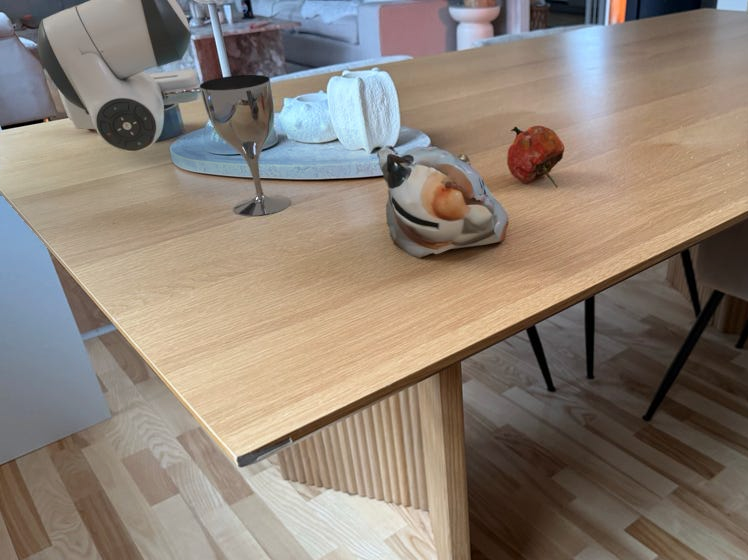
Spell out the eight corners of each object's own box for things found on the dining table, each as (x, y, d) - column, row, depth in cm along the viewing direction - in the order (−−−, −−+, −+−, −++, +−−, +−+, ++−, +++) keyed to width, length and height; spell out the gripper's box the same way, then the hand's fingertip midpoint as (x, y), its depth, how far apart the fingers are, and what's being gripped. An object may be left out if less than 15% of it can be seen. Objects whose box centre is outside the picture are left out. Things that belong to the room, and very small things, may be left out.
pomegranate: (570, 193, 95) (534, 136, 97) (588, 161, 88) (549, 99, 90) (524, 211, 92) (489, 151, 94) (539, 179, 85) (500, 115, 88)
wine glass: (228, 200, 92) (198, 79, 83) (289, 190, 94) (266, 72, 85) (232, 221, 85) (200, 93, 77) (298, 210, 87) (273, 84, 79)
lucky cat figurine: (532, 229, 79) (534, 139, 67) (468, 304, 75) (458, 222, 63) (429, 173, 84) (413, 78, 71) (364, 240, 80) (335, 152, 67)
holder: (114, 147, 114) (105, 119, 112) (117, 130, 123) (109, 104, 121) (186, 137, 117) (178, 110, 115) (184, 121, 126) (177, 96, 124)
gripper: (199, 68, 104) (195, 53, 115) (47, 85, 98) (58, 68, 109) (209, 112, 107) (205, 93, 118) (64, 131, 102) (73, 109, 113)
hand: (133, 81), depth 114 cm, fingers open, 8 cm apart
